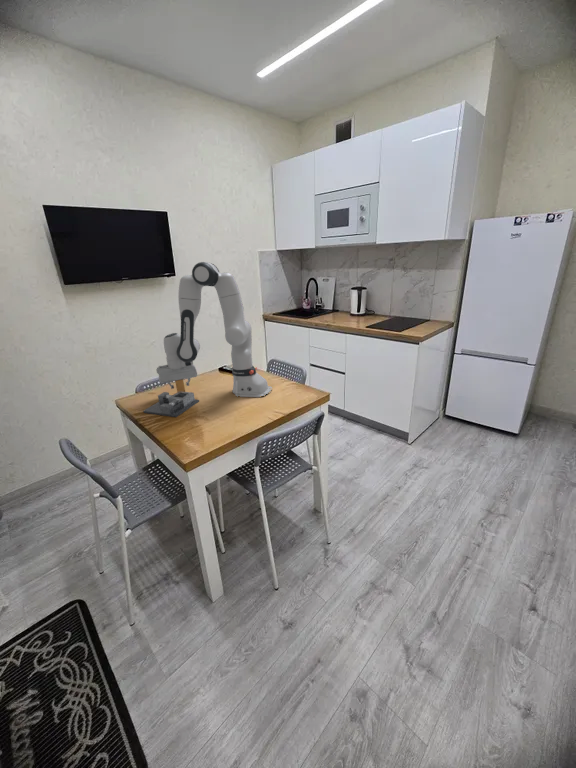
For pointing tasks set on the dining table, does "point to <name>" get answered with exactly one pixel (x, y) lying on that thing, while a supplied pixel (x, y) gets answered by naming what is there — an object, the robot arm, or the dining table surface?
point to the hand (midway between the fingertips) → (180, 386)
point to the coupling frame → (172, 404)
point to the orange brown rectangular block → (180, 385)
